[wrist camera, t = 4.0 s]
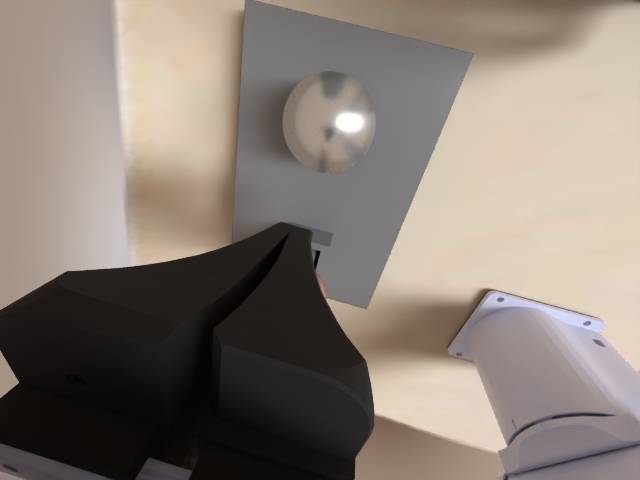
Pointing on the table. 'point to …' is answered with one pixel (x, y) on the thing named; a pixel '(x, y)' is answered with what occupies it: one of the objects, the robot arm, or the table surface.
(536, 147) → the table surface
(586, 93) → the table surface
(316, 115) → the steel plunger
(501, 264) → the table surface
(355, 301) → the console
